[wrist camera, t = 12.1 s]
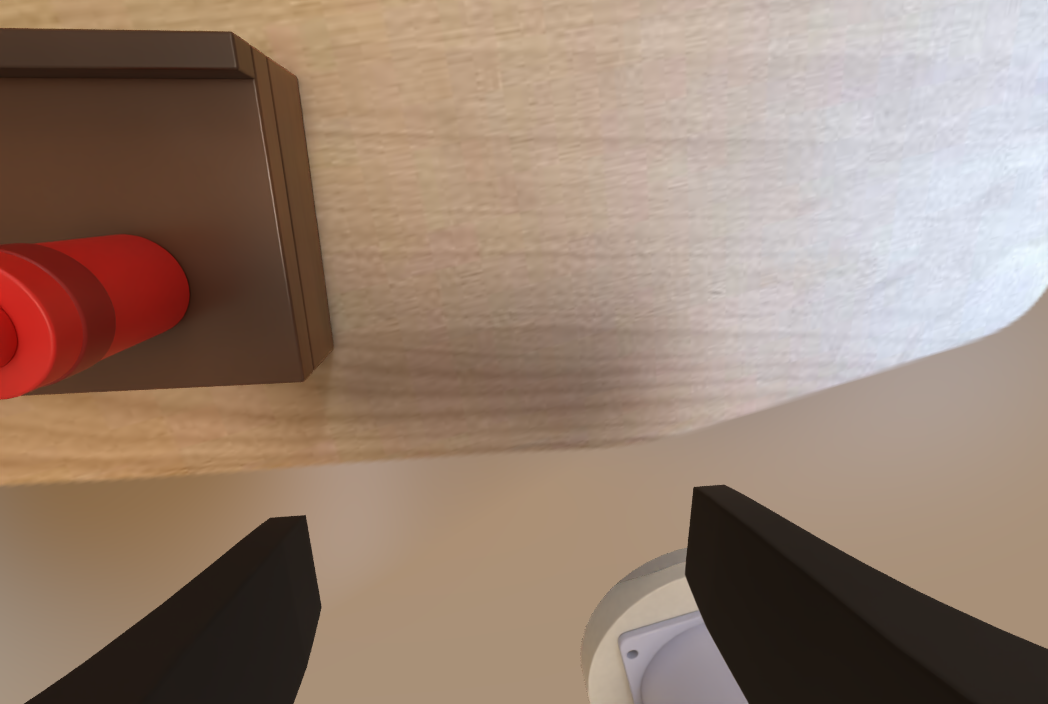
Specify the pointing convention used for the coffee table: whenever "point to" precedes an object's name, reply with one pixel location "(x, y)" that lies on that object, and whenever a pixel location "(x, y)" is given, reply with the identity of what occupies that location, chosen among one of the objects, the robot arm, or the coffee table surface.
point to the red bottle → (81, 305)
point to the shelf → (172, 192)
